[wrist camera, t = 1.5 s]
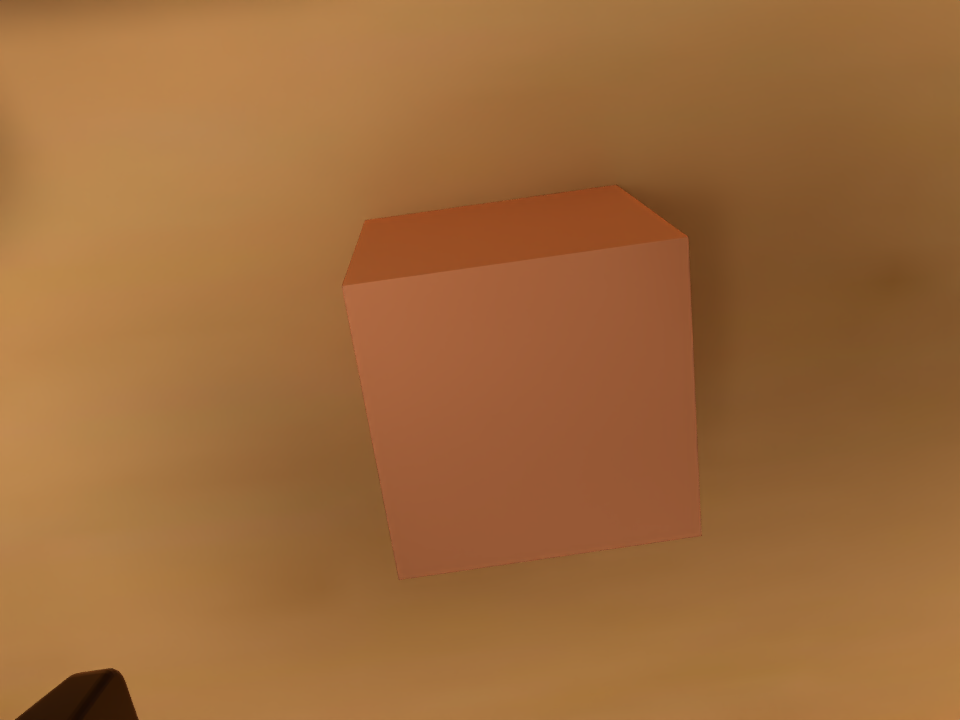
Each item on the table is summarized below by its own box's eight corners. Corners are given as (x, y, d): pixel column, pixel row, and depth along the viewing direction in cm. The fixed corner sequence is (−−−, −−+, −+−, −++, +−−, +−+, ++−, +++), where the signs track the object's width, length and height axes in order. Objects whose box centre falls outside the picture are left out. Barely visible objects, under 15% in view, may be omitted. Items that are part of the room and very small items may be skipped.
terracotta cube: (632, 412, 19) (701, 535, 14) (405, 445, 19) (398, 580, 14) (615, 184, 17) (688, 237, 12) (365, 219, 17) (341, 286, 12)
